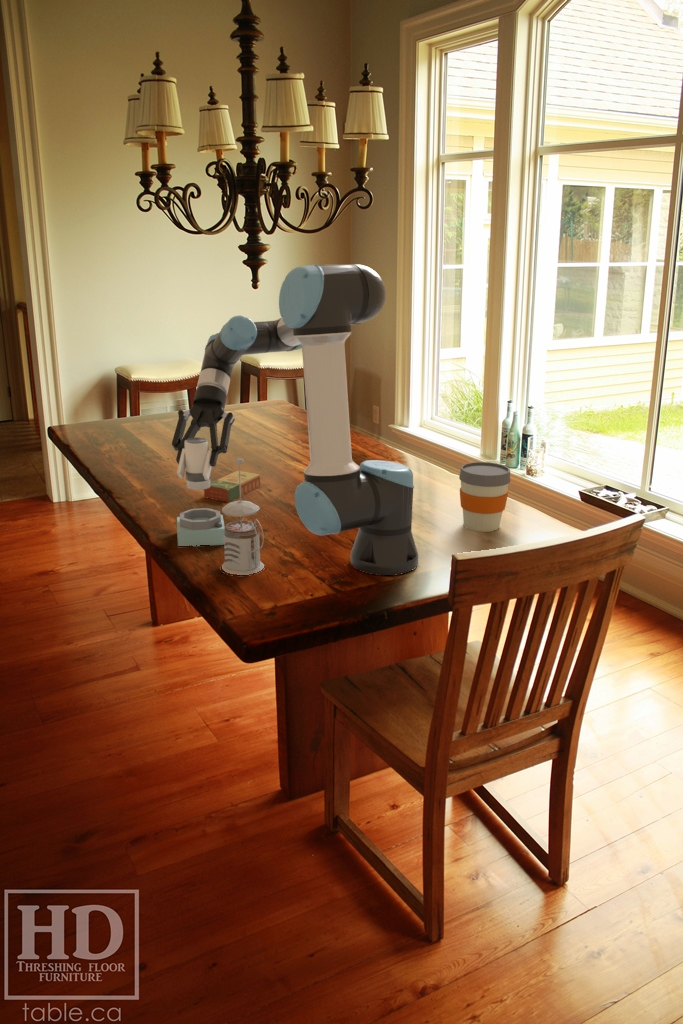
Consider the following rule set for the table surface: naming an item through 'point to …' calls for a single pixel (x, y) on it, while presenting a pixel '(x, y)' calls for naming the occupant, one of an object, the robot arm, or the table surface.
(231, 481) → the carton
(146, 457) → the table surface
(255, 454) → the table surface
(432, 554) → the table surface
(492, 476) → the reusable coffee cup
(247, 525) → the french press
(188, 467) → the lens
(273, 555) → the table surface
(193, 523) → the body block
